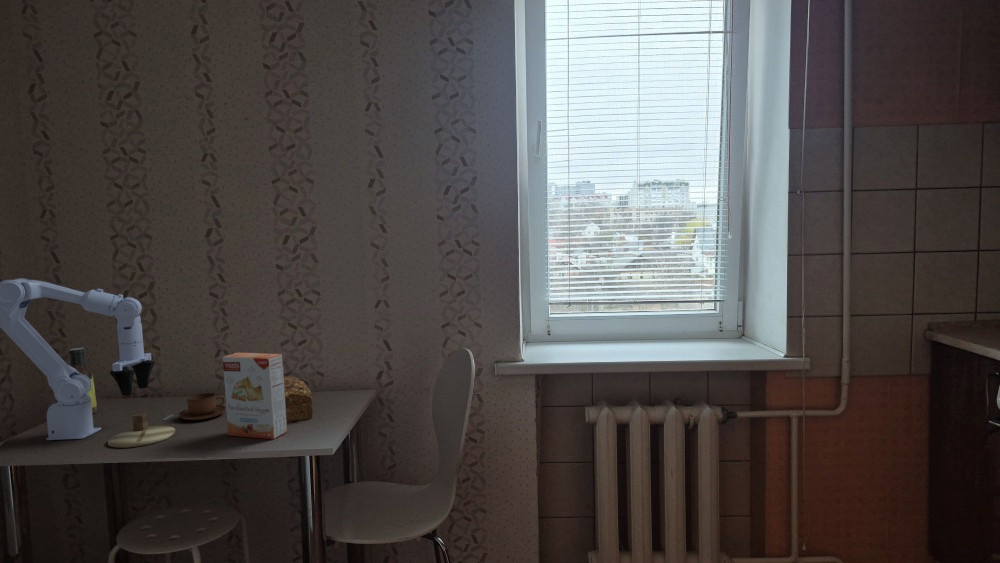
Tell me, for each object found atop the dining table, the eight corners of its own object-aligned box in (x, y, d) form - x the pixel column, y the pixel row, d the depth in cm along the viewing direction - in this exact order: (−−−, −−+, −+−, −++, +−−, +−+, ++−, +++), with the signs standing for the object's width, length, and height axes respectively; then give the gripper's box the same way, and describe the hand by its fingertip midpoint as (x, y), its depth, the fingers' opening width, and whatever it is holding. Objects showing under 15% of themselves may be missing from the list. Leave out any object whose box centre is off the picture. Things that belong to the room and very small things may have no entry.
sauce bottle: (102, 410, 184) (96, 346, 182) (86, 417, 177) (80, 350, 176) (82, 411, 184) (76, 346, 183) (65, 417, 178) (59, 350, 177)
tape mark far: (211, 406, 184) (211, 405, 184) (212, 405, 185) (212, 405, 185) (227, 405, 184) (227, 405, 184) (228, 404, 185) (228, 404, 185)
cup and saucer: (209, 409, 182) (208, 389, 181) (234, 414, 176) (233, 393, 175) (170, 420, 172) (168, 399, 171) (195, 426, 165) (193, 404, 165)
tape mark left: (161, 420, 171) (161, 419, 171) (170, 415, 176) (170, 414, 176) (165, 420, 171) (165, 419, 171) (174, 415, 176) (174, 414, 176)
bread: (265, 410, 179) (262, 376, 178) (302, 404, 184) (300, 371, 183) (274, 426, 162) (272, 390, 161) (315, 419, 167) (312, 384, 166)
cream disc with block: (114, 433, 160) (112, 416, 159) (178, 424, 166) (176, 408, 165) (101, 451, 146) (100, 432, 146) (172, 441, 152) (170, 423, 151)
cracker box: (226, 437, 154) (221, 356, 153) (243, 429, 160) (237, 351, 158) (273, 440, 150) (267, 357, 149) (288, 432, 156) (283, 352, 154)
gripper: (129, 346, 157) (134, 398, 158) (160, 337, 171) (164, 384, 172) (102, 347, 157) (107, 399, 158) (135, 338, 171) (139, 385, 172)
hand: (135, 391), depth 165 cm, fingers open, 7 cm apart
